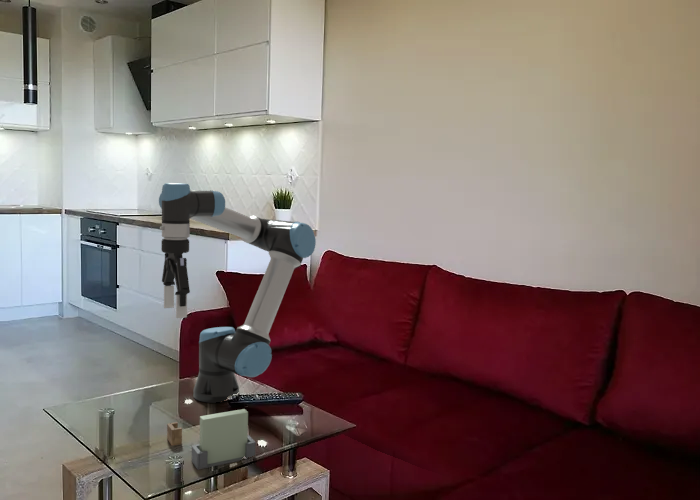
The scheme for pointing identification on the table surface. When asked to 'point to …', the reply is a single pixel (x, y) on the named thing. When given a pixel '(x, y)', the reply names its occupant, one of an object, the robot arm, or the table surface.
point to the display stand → (201, 461)
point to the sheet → (224, 435)
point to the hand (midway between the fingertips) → (175, 312)
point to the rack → (174, 434)
